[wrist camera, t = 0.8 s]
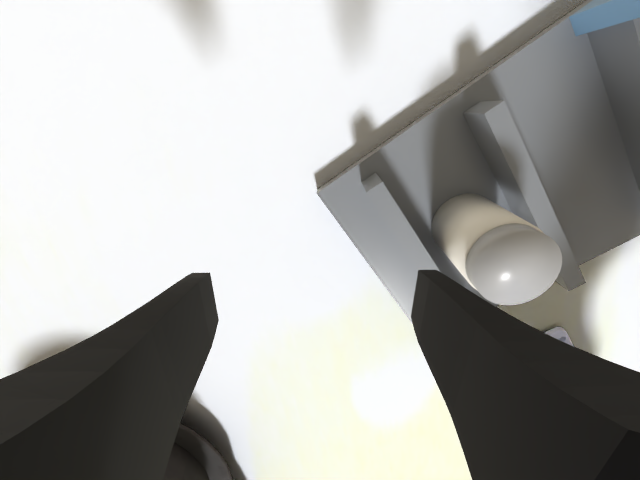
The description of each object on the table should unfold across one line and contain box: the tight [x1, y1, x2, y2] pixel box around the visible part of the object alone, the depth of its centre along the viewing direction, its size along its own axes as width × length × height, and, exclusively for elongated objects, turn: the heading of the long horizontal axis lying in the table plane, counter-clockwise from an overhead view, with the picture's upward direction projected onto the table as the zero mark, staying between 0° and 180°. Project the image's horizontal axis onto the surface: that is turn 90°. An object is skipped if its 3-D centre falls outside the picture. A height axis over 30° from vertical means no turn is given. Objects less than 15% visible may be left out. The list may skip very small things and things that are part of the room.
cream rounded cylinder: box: [431, 194, 562, 305], centre depth 17 cm, size 4×4×6 cm
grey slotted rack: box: [317, 0, 640, 324], centre depth 16 cm, size 14×26×5 cm, turn 126°
